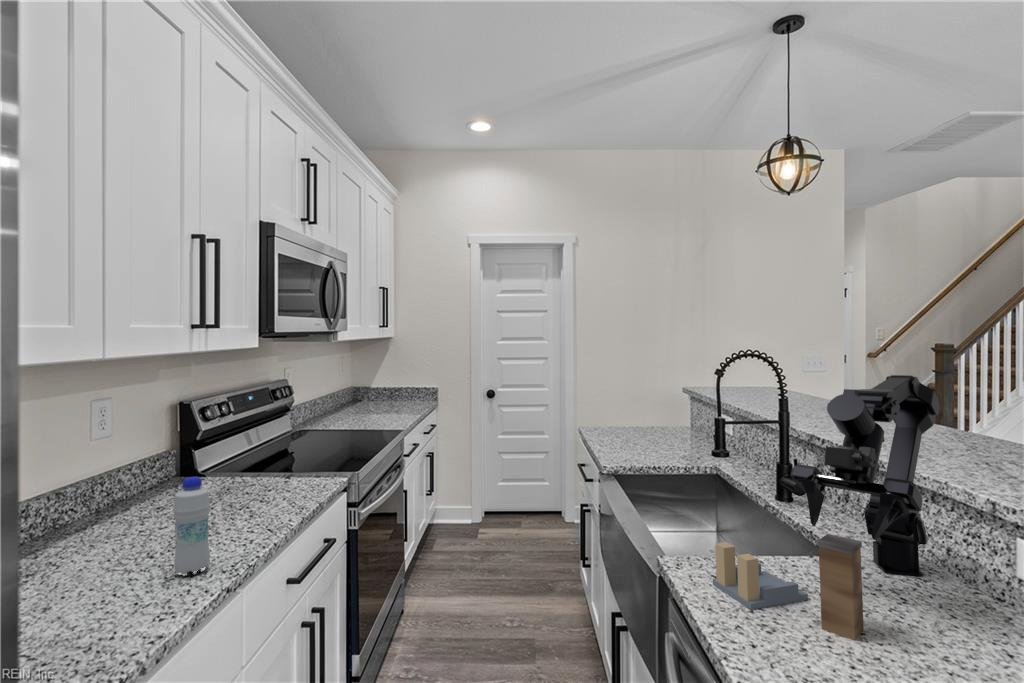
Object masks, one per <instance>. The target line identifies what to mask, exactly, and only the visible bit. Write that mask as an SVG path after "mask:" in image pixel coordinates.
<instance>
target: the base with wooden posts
mask: <svg viewBox="0 0 1024 683" xmlns="http://www.w3.org/2000/svg"><path fill="white" fill-rule="evenodd" d="M736 561H737V562H736ZM715 574H716V575H715V576H716V578H712V585H713V586H715V587H716V588H717V589H719V590H720V591H722V592H723V593H725V594H726V595H728V596H729V597H731V598H732V599H734V600H735V601H737V602H738V603H740V604H742V605H743V606H744V607H745V608H747V609H749V610H751V611H752V610H757V609H758V610H759V609H764V608H768V607H775V606H781V605H786V604H787V605H788V604H791V603H792V602H793V603H797V601H798V602H803V601H802V600H804V601H808V600H809V594H808V593H807V592H805V591H803V590H802V589H799V583H797V582H795V581H785V580H783V579H781V578H779V577H778V576H775V575H774V574H772V573H770V572H768V571H766V570H764V571H763V570H762V564H761V563H760V562H759V558H758V557H755V556H753V555H752V554H751V553H744V554H743V553H742V554H737V555H736V546H735V545H733V544H731V543H729V542H727V541H724V542H717V543H715Z"/></svg>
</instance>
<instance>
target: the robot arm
mask: <svg viewBox="0 0 1024 683" xmlns="http://www.w3.org/2000/svg"><path fill="white" fill-rule="evenodd" d="M826 405H827V406H826V410H827V413H828V415H829V416H830V418H831V419H832V421H833V424H835V426H836V428H837V429H838V430H839V432H840V433H841V434H842V435H844V438H843V441H842V445H838V447H833V446H825V450H824V451H825V452H824V460H823V461H824V462H823V465H824V466H829V471H830V472H831V473H833V474H834V476H832V475H826V474H823V473H822V472H821V471H820V469H819V468H818V466H814V465H813V466H812V465H811V466H810V465H807V464H806V465H805V464H795V465H794V466H793V467H792V468H791V472H790V475H789V476H790V477H791V478H792V480H793V482H795V484H797V486H798V488H800V489H801V490H802V491H803V492H804V493H805V495H806V498H807V505H808V511H809V518H810V521H809V522H810V524H811V525H812V526H813V527H815V526H816V525H817V523H818V521H819V517H820V514H821V511H822V506H823V502H824V499H825V495H824V493H823V492H824V491H825V490H826V487H827V488H828V487H829V488H833V489H837V490H838V489H839V490H845V491H850V492H857V493H863V494H866V495H867V494H868V495H870V496H869V501H868V503H867V504H866V505H865V508H864V520H865V525H866V530H867V534H868V535H870V536H871V538H872V540H873V541H872V555H873V558H872V559H873V560H872V561H873V562H874V563H875V564H876V565H877V566H878V567H879V568H880V569H881V570H882V572H884V573H887V574H895V575H896V574H897V575H907V576H918V577H924V573H923V572H922V571H921V570H920V560H919V558H920V555H919V547H920V545H927V544H928V541H927V537H928V536H927V529H926V527H925V524H924V522H923V520H922V518H921V516H920V513H919V512H921V511H922V509H923V508H922V507H923V496H922V494H921V493H920V491H919V489H918V488H917V487H918V486H916V484H915V483H914V482H915V475H916V469H917V466H918V465H917V464H918V457H919V453H920V448H921V442H922V436H923V434H924V433H926V432H927V431H928V430H930V429H931V428H932V427H933V426H934V425H935V421H936V417H937V416H938V415H939V414H940V409H941V408H940V401H939V399H938V396H937V394H936V393H935V391H934V389H932V388H930V387H929V386H927V385H925V384H923V383H921V382H920V380H919V378H918V377H917V376H913V375H912V374H911V375H907V374H905V375H903V374H902V375H900V374H899V375H897V374H896V375H895V374H894V375H893V374H891V375H890V376H886V378H885V380H883V381H882V382H880V383H878V384H877V385H875V386H873V387H872V388H867V389H866V388H865V389H864V388H863V389H860V388H859V389H848V388H847V389H846V388H844V389H843V392H842V394H839V395H836V396H835V397H833V398H832V399H830V401H829V402H828V403H827V404H826ZM892 421H893V422H894V424H895V427H894V432H893V437H892V442H891V447H890V451H889V457H888V461H887V462H888V463H887V465H886V466H887V467H886V470H885V471H886V472H885V476H884V480H883V481H884V482H883V483H876V482H875V479H876V474H877V471H880V467H881V465H880V463H879V459H880V455H881V451H882V446H883V443H885V440H886V439H885V431H884V429H883V427H882V426H881V425H880V424H878V423H877V422H879V423H892Z"/></svg>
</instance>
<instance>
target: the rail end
mask: <svg viewBox="0 0 1024 683" xmlns="http://www.w3.org/2000/svg"><path fill="white" fill-rule="evenodd" d="M816 542H817V543H816V546H817V547H818V559H819V560H818V563H819V565H818V566H819V590H820V592H819V593H820V618H821V630H824V631H826V630H827V631H826V632H829V631H830V632H829V633H832V634H834V633H835V635H837V634H838V636H840V635H841V636H840V637H843V638H847V639H849V640H851V641H854V640H855V641H856V640H857V638H858V637H859V636H860V635H861V633H862V632H863V631H864V628H865V627H864V606H863V581H862V580H863V579H862V577H863V576H862V553H861V551H862V550H861V549H862V547H863V545H862V544H863V543H862V541H861V540H858V539H852V538H848V537H843V536H839V535H836V534H830V533H826V534H825V535H824V536H822V537H821V538H819V539H818V540H817V541H816ZM859 634H860V635H859Z"/></svg>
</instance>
